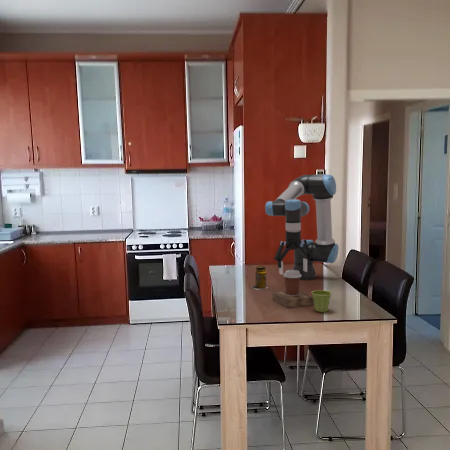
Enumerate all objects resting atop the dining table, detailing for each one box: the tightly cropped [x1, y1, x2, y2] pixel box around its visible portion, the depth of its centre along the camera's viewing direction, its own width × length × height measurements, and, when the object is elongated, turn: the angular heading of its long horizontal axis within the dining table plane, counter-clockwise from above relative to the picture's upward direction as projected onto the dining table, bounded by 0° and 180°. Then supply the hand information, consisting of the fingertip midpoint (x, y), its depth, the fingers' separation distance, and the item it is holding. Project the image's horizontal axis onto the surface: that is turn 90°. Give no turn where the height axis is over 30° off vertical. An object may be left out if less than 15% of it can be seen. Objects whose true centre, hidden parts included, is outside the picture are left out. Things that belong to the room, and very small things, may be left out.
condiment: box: [250, 265, 270, 291], centre depth 261 cm, size 7×8×12 cm
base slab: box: [272, 289, 314, 309], centre depth 230 cm, size 15×15×4 cm
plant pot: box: [311, 289, 332, 313], centre depth 216 cm, size 9×9×9 cm
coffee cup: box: [282, 269, 302, 296], centre depth 230 cm, size 9×9×12 cm
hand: (293, 272), depth 229 cm, fingers open, 13 cm apart
